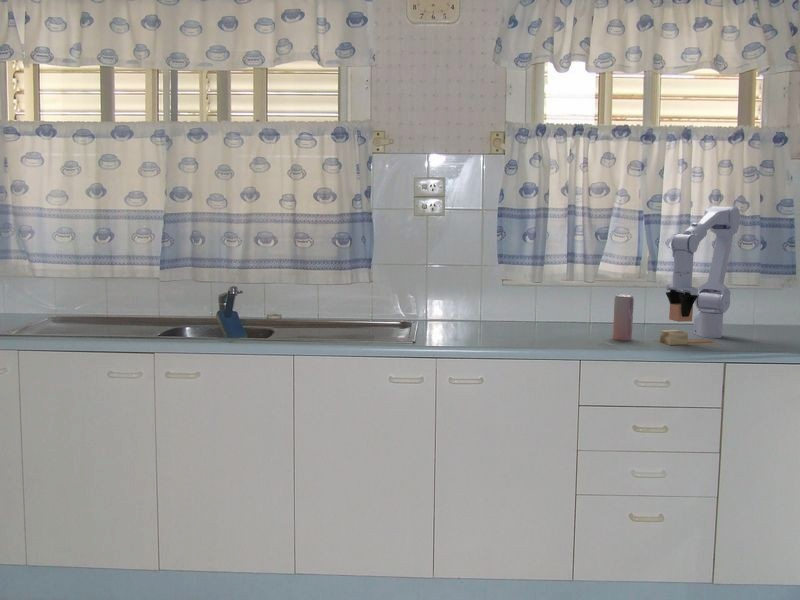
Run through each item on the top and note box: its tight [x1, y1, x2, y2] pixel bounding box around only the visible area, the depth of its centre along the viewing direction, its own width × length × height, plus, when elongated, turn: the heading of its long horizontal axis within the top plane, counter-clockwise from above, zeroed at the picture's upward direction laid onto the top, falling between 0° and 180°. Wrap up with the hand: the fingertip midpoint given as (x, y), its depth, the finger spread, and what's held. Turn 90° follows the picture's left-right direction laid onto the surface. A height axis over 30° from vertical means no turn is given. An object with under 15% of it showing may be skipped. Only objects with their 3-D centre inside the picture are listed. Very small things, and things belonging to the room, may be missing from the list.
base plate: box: [654, 338, 720, 347], centre depth 264 cm, size 10×18×1 cm, turn 104°
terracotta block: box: [668, 303, 694, 323], centre depth 262 cm, size 5×5×5 cm
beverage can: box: [612, 294, 635, 342], centre depth 268 cm, size 6×6×15 cm
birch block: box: [659, 329, 689, 345], centre depth 263 cm, size 6×6×4 cm
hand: (680, 315), depth 262 cm, fingers closed on terracotta block, 5 cm apart
